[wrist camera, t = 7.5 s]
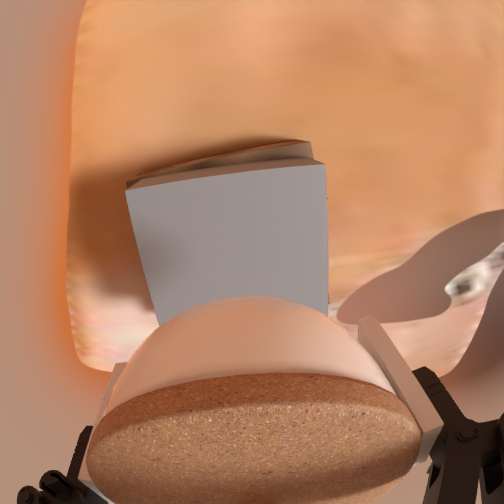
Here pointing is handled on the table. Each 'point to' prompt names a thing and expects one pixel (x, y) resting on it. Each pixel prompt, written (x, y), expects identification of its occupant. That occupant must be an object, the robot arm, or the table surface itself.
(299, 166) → the grey square slab
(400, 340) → the table surface
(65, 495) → the robot arm
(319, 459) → the lidded jar
